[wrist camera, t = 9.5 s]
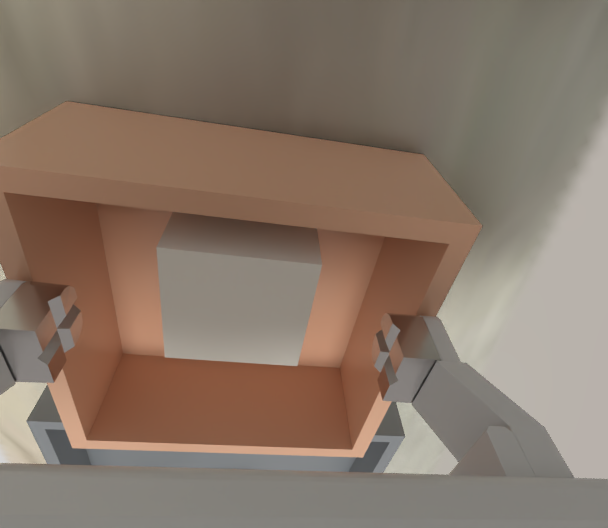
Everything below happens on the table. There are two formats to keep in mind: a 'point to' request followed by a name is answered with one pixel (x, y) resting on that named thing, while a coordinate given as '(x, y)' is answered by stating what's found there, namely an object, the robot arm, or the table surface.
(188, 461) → the tray
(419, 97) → the table surface
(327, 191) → the bin
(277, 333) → the white cube
